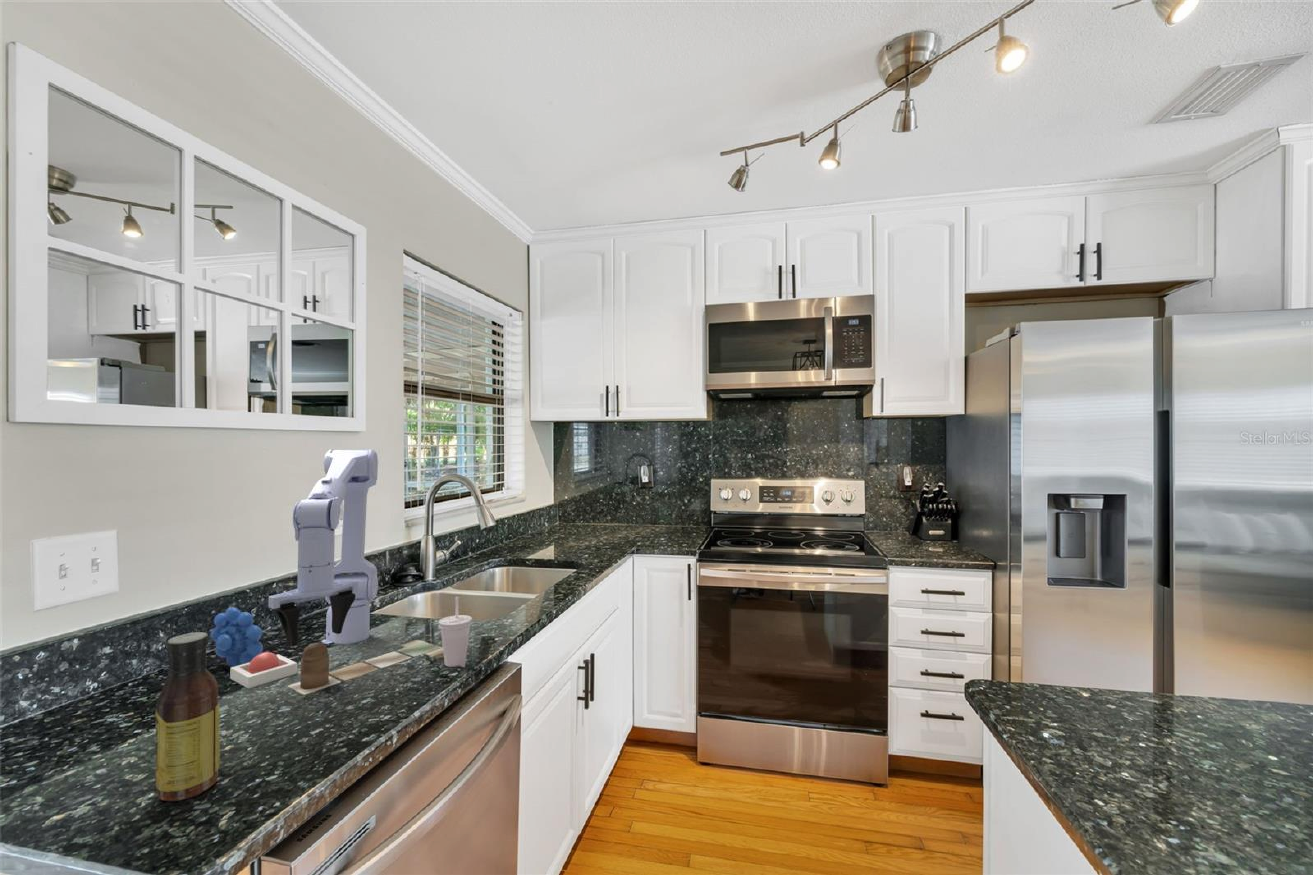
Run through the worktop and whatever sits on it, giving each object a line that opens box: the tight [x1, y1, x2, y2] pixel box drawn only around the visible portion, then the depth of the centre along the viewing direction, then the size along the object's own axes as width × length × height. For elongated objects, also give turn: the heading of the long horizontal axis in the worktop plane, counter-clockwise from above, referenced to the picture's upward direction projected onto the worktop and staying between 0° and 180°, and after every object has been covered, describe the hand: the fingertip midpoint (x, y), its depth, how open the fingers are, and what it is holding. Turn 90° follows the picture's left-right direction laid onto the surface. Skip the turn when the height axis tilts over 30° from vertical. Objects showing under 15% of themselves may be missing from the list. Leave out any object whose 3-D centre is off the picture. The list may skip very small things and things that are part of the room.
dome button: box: [248, 651, 280, 674], centre depth 104 cm, size 5×5×5 cm
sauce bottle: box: [155, 631, 220, 802], centre depth 71 cm, size 7×6×20 cm
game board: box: [286, 639, 444, 696], centre depth 109 cm, size 12×28×1 cm, turn 147°
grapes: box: [210, 606, 264, 668], centre depth 109 cm, size 12×7×12 cm, turn 79°
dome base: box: [229, 653, 298, 690], centre depth 104 cm, size 8×8×3 cm
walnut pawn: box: [299, 642, 330, 689], centre depth 100 cm, size 4×4×7 cm
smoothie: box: [438, 596, 473, 668], centre depth 110 cm, size 6×6×14 cm
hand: (315, 638), depth 100 cm, fingers open, 7 cm apart
